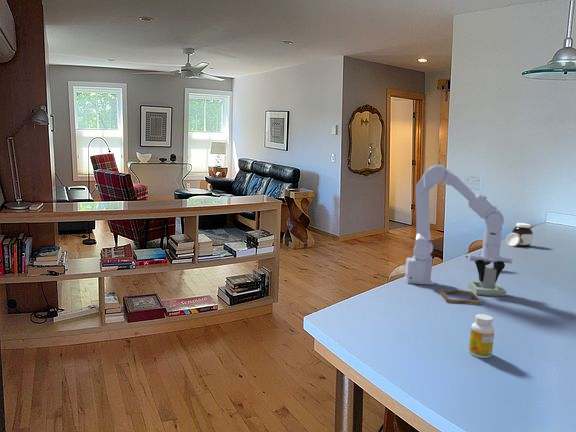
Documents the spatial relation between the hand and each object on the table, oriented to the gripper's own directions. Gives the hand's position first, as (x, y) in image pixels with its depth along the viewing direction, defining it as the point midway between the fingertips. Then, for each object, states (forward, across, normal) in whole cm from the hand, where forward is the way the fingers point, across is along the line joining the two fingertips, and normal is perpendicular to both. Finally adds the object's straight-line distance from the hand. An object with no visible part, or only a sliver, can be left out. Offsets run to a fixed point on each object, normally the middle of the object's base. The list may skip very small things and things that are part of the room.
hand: (487, 281), depth 170 cm
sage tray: (+4, 0, 0) cm, 4 cm away
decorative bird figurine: (+4, +7, +31) cm, 32 cm away
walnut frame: (+4, -12, -10) cm, 16 cm away
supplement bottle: (+4, -18, -54) cm, 57 cm away
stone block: (+2, 0, 0) cm, 2 cm away
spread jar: (+4, +43, +87) cm, 98 cm away
